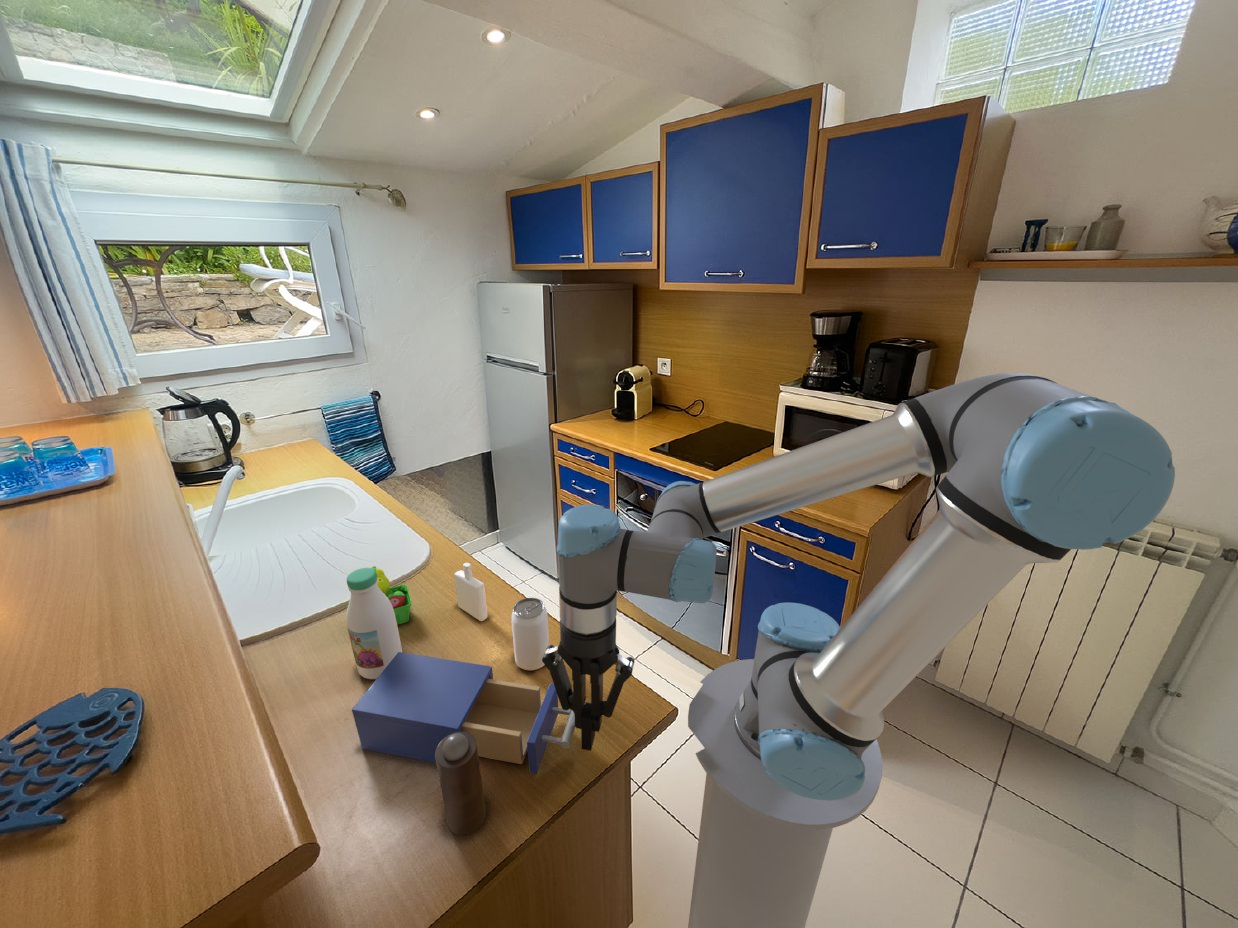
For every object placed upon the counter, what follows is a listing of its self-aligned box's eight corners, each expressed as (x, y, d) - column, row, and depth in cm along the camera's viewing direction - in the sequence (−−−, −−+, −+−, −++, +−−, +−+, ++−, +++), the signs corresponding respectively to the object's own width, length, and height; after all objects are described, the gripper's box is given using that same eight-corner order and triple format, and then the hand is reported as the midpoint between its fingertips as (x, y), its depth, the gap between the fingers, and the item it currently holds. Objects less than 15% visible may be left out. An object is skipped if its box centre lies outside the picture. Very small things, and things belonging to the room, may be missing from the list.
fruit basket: (354, 642, 96) (342, 595, 92) (351, 616, 103) (340, 571, 99) (416, 623, 101) (407, 578, 97) (409, 599, 109) (401, 556, 104)
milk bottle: (388, 643, 96) (370, 556, 88) (412, 660, 92) (395, 571, 84) (349, 667, 90) (326, 577, 83) (372, 687, 86) (350, 594, 79)
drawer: (583, 717, 80) (583, 688, 78) (565, 779, 71) (564, 748, 68) (469, 698, 83) (465, 669, 81) (437, 755, 74) (432, 724, 71)
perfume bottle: (488, 617, 104) (483, 569, 99) (481, 622, 102) (475, 573, 97) (465, 601, 108) (459, 555, 103) (457, 606, 107) (451, 559, 102)
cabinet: (496, 703, 84) (492, 666, 80) (463, 768, 73) (457, 728, 70) (406, 688, 86) (398, 651, 83) (362, 748, 76) (351, 709, 72)
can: (507, 661, 92) (502, 610, 88) (532, 641, 97) (528, 591, 93) (533, 677, 89) (529, 624, 84) (556, 655, 94) (554, 604, 89)
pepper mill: (491, 800, 69) (481, 724, 63) (476, 839, 64) (463, 761, 58) (458, 794, 69) (445, 718, 64) (440, 831, 65) (424, 753, 59)
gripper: (640, 605, 68) (634, 727, 77) (549, 593, 70) (554, 713, 79) (632, 644, 61) (626, 773, 70) (531, 629, 63) (539, 756, 72)
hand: (588, 741), depth 74 cm, fingers closed
